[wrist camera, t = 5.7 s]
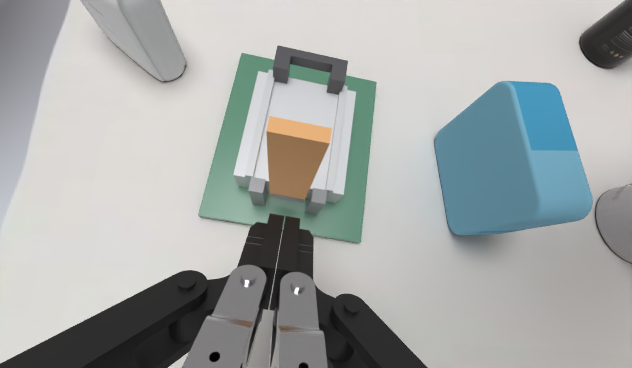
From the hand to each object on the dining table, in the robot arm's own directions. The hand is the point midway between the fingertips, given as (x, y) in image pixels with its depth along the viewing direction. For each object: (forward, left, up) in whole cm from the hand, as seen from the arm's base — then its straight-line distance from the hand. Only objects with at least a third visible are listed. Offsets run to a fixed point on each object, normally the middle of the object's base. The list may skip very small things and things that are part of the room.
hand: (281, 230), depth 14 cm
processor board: (+9, -7, -16) cm, 19 cm away
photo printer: (+27, +2, -16) cm, 31 cm away
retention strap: (+3, -3, -10) cm, 11 cm away
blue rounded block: (-4, -21, -16) cm, 27 cm away
